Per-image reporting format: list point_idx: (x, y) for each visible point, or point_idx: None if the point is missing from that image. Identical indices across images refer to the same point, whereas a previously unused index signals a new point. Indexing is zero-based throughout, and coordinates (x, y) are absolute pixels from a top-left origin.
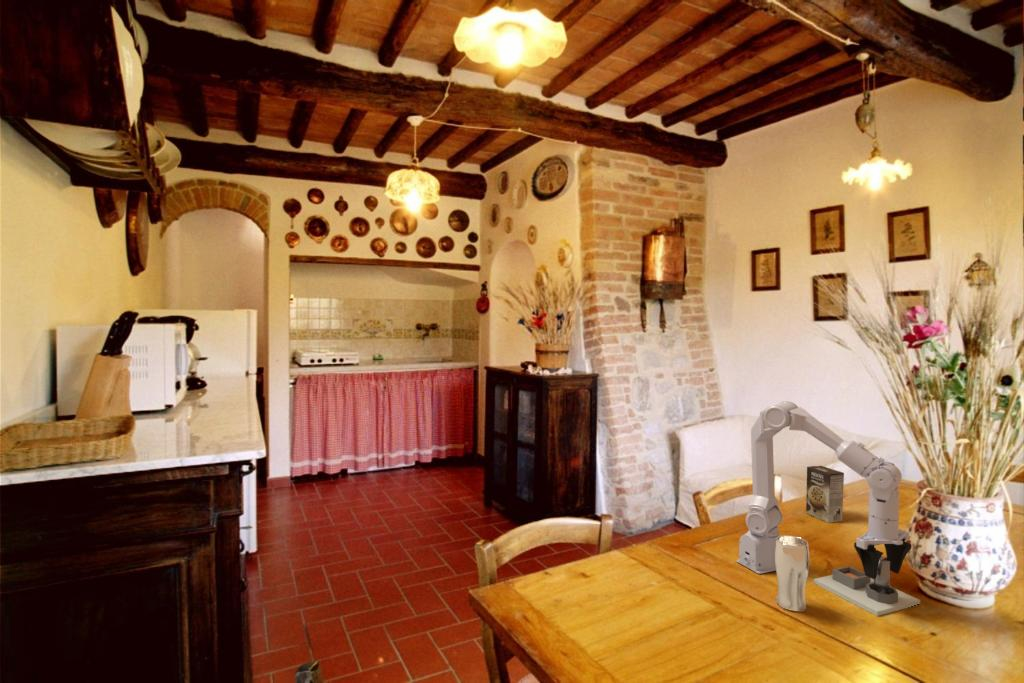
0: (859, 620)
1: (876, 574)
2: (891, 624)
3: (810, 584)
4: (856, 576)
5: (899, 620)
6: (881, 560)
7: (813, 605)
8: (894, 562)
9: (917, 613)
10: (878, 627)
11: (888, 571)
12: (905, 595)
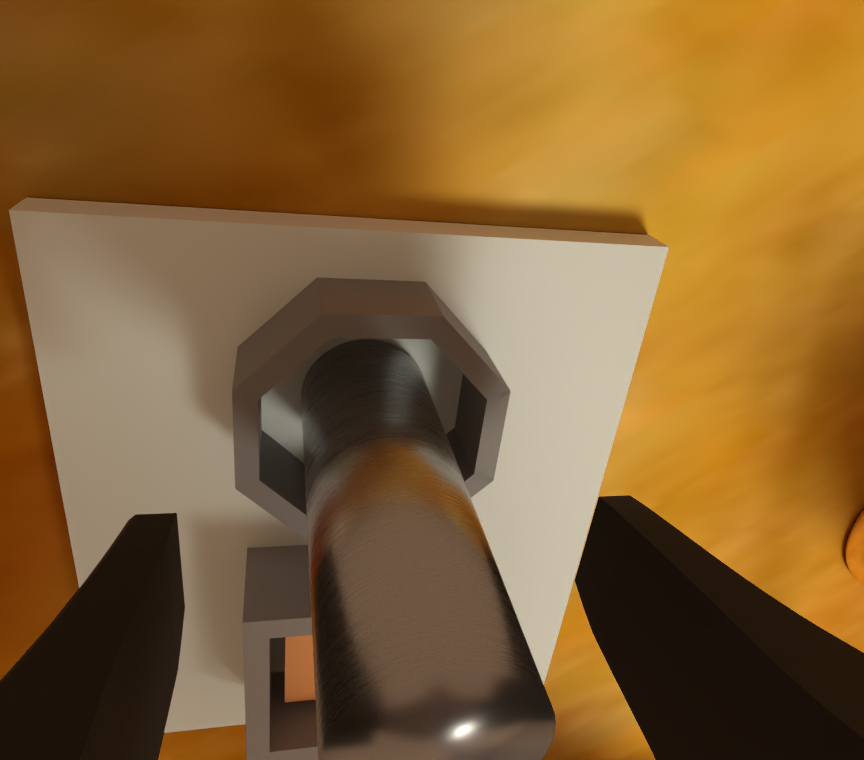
0: (820, 250)
1: (638, 526)
2: (696, 92)
3: (568, 658)
4: (299, 651)
5: (562, 100)
6: (518, 718)
7: (828, 486)
8: (148, 674)
9: (254, 96)
10: (829, 116)
11: (424, 535)
12: (85, 335)
